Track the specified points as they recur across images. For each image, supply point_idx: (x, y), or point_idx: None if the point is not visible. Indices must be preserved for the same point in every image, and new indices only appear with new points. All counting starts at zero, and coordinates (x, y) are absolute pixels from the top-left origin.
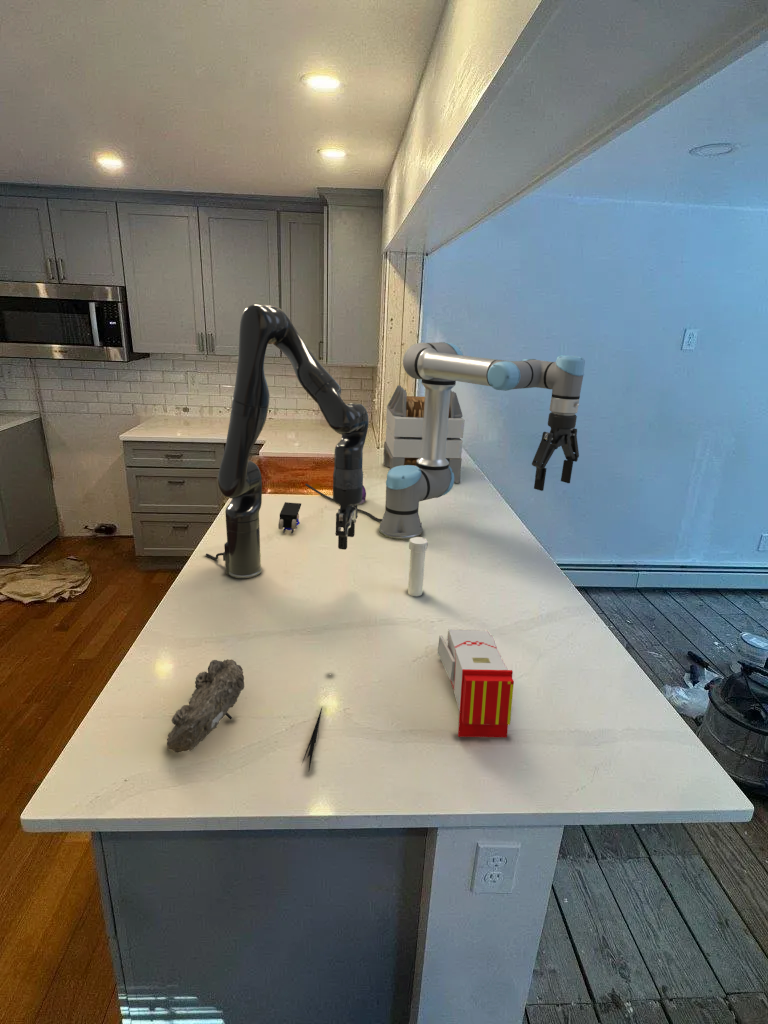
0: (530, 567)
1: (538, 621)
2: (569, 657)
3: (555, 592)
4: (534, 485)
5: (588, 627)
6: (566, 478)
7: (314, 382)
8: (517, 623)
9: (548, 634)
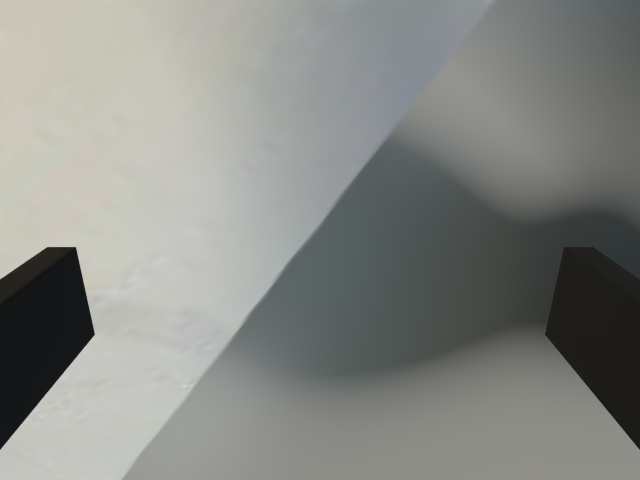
0: (330, 87)
1: None
2: None
3: (241, 250)
4: (25, 265)
5: (160, 389)
6: (576, 331)
7: None
8: None
9: None
